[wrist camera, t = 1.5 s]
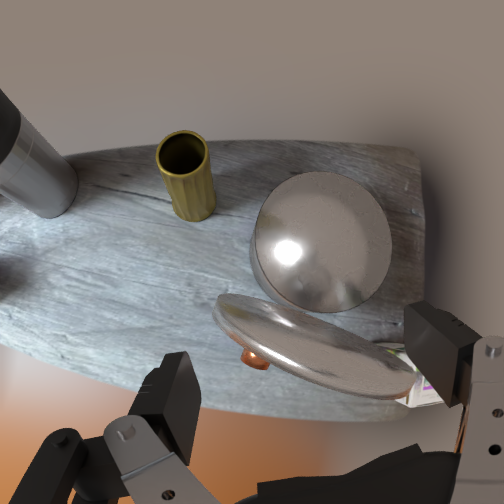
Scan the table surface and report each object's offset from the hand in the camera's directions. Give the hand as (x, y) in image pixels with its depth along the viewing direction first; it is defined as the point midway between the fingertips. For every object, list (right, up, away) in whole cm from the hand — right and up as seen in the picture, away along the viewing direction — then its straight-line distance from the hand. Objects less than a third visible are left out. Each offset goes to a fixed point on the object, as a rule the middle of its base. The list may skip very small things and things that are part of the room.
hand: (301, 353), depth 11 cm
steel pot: (+6, +3, +33) cm, 33 cm away
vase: (-10, +10, +33) cm, 36 cm away
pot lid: (+4, -3, +14) cm, 14 cm away
